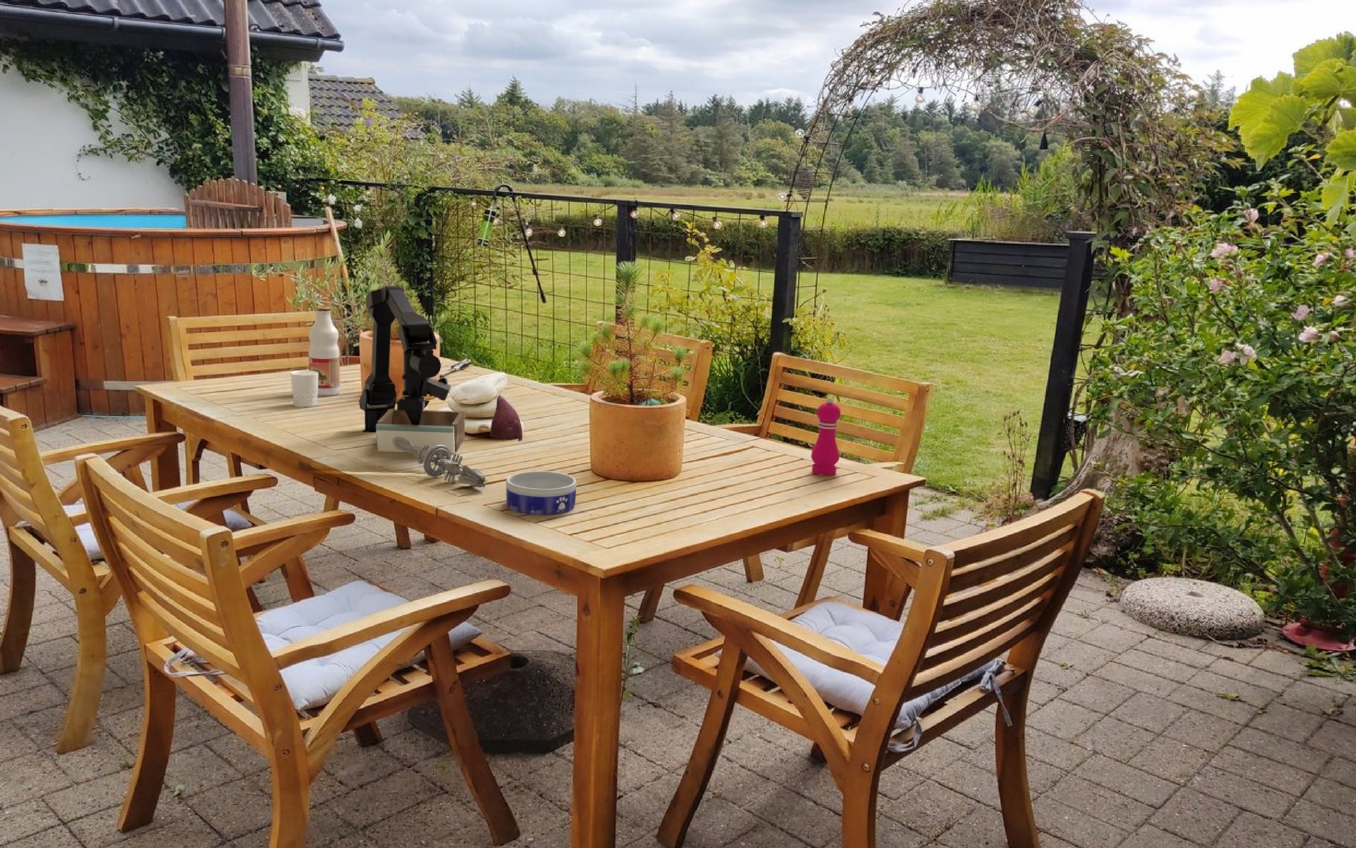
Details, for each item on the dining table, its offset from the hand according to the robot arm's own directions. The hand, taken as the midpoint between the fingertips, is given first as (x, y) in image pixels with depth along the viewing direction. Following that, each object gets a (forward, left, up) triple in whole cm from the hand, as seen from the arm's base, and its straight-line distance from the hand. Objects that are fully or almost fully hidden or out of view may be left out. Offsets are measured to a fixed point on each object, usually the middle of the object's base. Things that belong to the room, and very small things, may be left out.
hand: (416, 429), depth 262 cm
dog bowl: (+34, -40, -7) cm, 53 cm away
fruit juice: (-42, +76, -7) cm, 87 cm away
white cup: (-43, +57, -7) cm, 72 cm away
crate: (0, +10, -7) cm, 12 cm away
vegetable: (+21, +22, -7) cm, 31 cm away
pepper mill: (+105, -5, -7) cm, 105 cm away
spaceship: (+8, -20, -7) cm, 22 cm away
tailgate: (0, +1, -6) cm, 6 cm away
